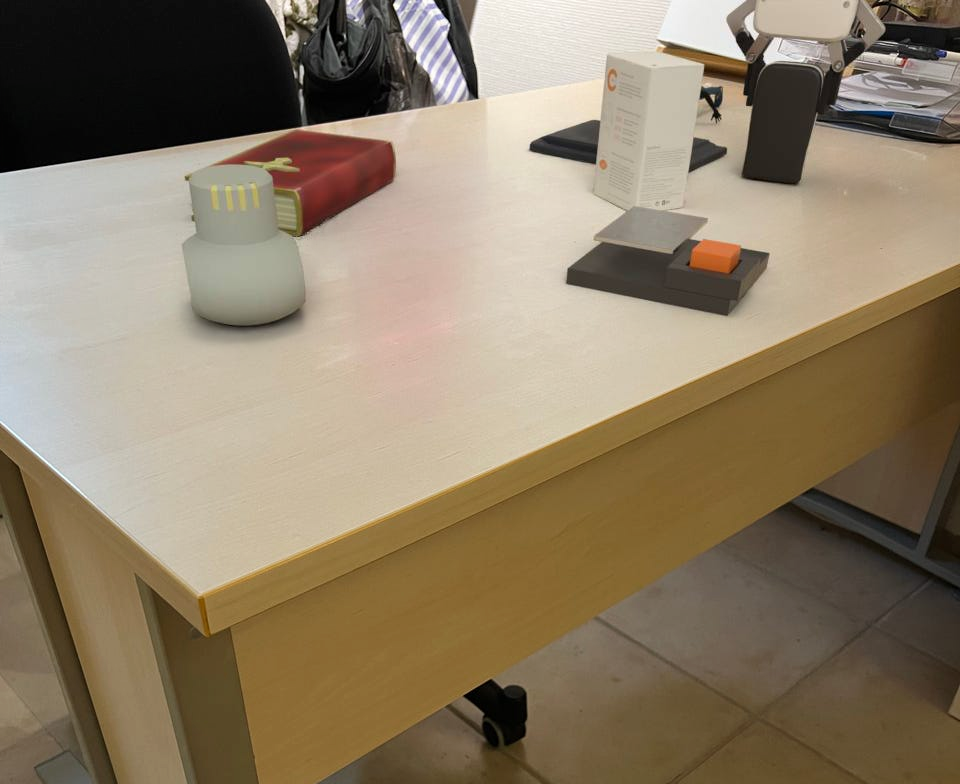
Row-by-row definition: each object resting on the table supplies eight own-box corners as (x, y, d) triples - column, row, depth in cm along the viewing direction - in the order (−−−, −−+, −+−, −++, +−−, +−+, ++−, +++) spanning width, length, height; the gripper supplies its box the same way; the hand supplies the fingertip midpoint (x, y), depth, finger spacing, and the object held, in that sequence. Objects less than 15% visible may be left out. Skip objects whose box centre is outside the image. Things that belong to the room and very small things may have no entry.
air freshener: (312, 335, 70) (299, 192, 64) (199, 345, 68) (173, 199, 62) (292, 284, 78) (279, 152, 72) (190, 292, 76) (166, 157, 70)
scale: (772, 270, 84) (780, 235, 82) (733, 318, 75) (741, 280, 73) (619, 242, 89) (623, 208, 87) (565, 285, 80) (568, 248, 78)
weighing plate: (707, 222, 84) (708, 218, 84) (672, 254, 77) (673, 249, 77) (633, 210, 86) (634, 205, 86) (593, 240, 80) (593, 235, 79)
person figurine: (668, 113, 140) (625, 115, 126) (674, 78, 137) (631, 76, 124) (740, 122, 136) (703, 125, 122) (747, 86, 134) (711, 85, 120)
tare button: (738, 264, 77) (741, 245, 76) (727, 276, 75) (731, 256, 74) (700, 257, 78) (703, 238, 77) (688, 269, 76) (691, 249, 75)
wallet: (525, 132, 113) (592, 112, 123) (524, 149, 114) (590, 128, 124) (673, 162, 104) (733, 138, 114) (670, 180, 106) (729, 155, 115)
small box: (684, 209, 97) (707, 63, 89) (632, 215, 95) (651, 67, 87) (640, 188, 103) (658, 49, 94) (591, 194, 101) (604, 52, 92)
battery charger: (806, 178, 108) (832, 62, 100) (800, 186, 105) (826, 67, 97) (745, 170, 110) (766, 56, 102) (738, 178, 107) (759, 61, 100)
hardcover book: (396, 181, 103) (395, 138, 100) (302, 237, 87) (297, 188, 85) (299, 168, 106) (295, 126, 103) (191, 220, 91) (183, 172, 88)
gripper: (927, -96, 91) (874, 111, 102) (750, -103, 97) (718, 94, 108) (917, -94, 86) (862, 124, 97) (730, -102, 92) (699, 105, 103)
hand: (787, 106), depth 103 cm, fingers closed on battery charger, 7 cm apart
